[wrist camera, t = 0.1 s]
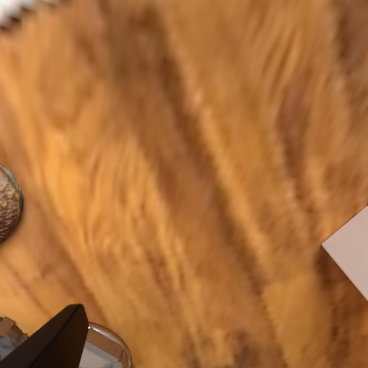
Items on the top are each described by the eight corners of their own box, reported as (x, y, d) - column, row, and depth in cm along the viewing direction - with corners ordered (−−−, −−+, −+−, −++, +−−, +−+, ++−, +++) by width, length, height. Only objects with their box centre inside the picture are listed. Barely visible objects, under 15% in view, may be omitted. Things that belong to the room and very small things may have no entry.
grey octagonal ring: (139, 387, 31) (135, 409, 29) (51, 390, 32) (40, 412, 30) (121, 317, 28) (115, 336, 25) (22, 323, 28) (8, 342, 26)
